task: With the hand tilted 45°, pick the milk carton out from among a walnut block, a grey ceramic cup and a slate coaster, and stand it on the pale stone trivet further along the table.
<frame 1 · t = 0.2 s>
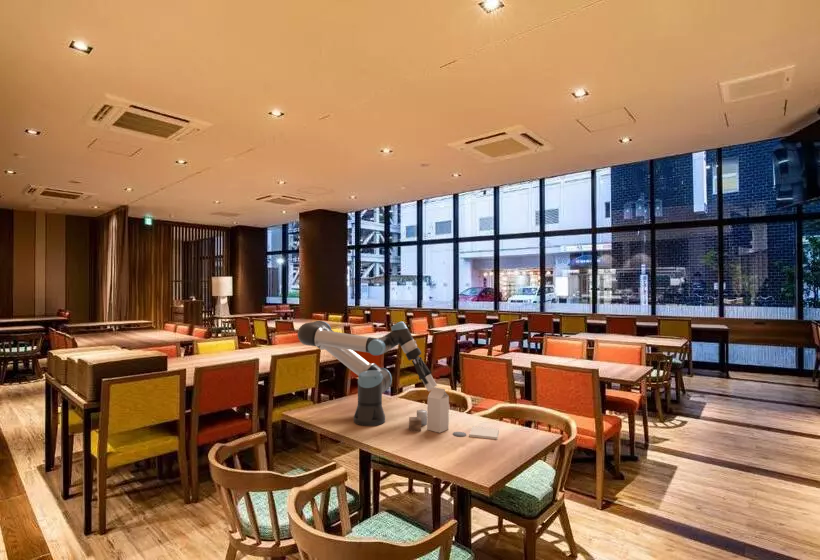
hand: (432, 388, 213), 15 cm above the table, tool tilted 30°, fingers open, 13 cm apart
milk carton: (437, 430, 197), on the table
walnut block: (415, 429, 197), on the table
trivet: (484, 433, 193), on the table
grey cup: (421, 423, 205), on the table
slate coaster: (459, 435, 191), on the table
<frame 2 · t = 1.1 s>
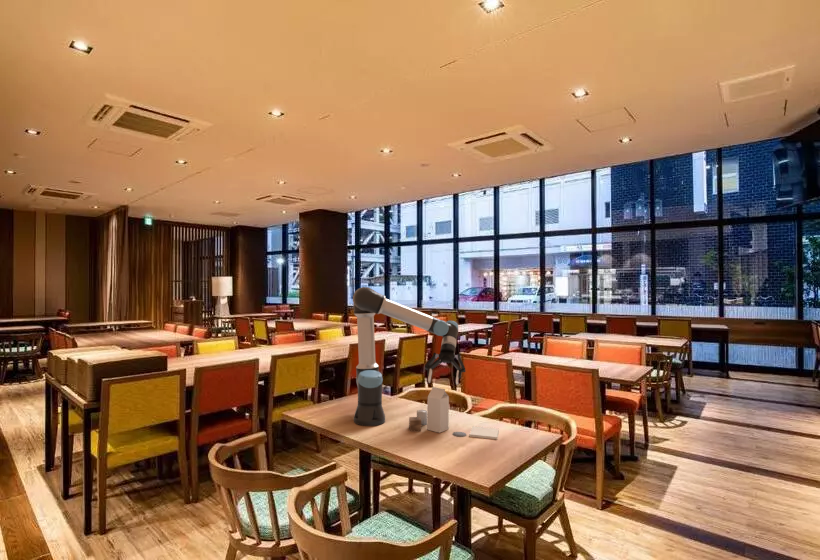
hand: (442, 382, 208), 19 cm above the table, tool tilted 45°, fingers open, 13 cm apart
nothing on the table moved.
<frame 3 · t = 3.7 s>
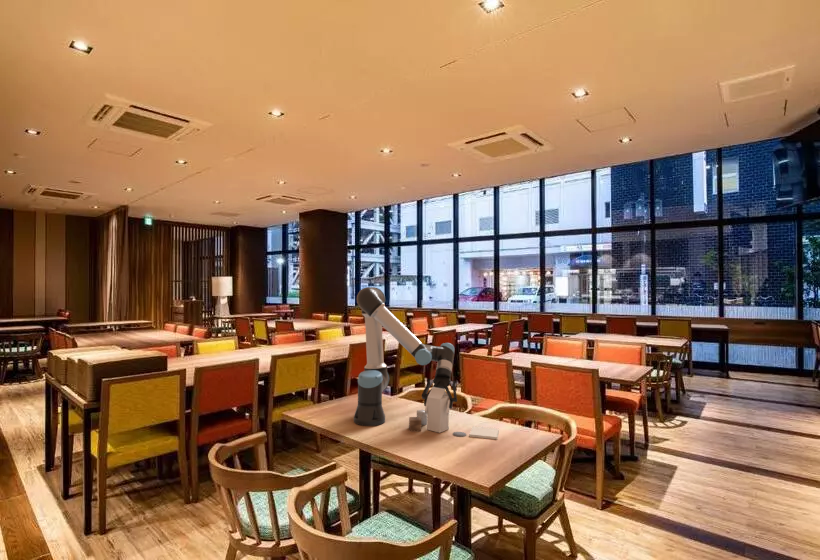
hand: (436, 413, 194), 8 cm above the table, tool tilted 45°, fingers closed on milk carton, 9 cm apart
milk carton: (437, 430, 197), on the table, touching gripper
everything else where it was.
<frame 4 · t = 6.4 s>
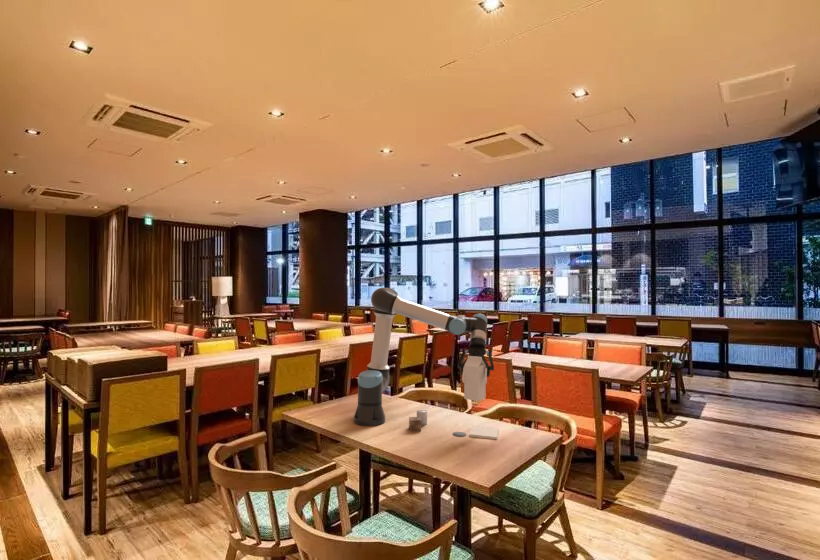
hand: (474, 381, 191), 23 cm above the table, tool tilted 45°, fingers closed on milk carton, 9 cm apart
milk carton: (475, 399, 194), point 15 cm above the table, touching gripper
everything else where it was.
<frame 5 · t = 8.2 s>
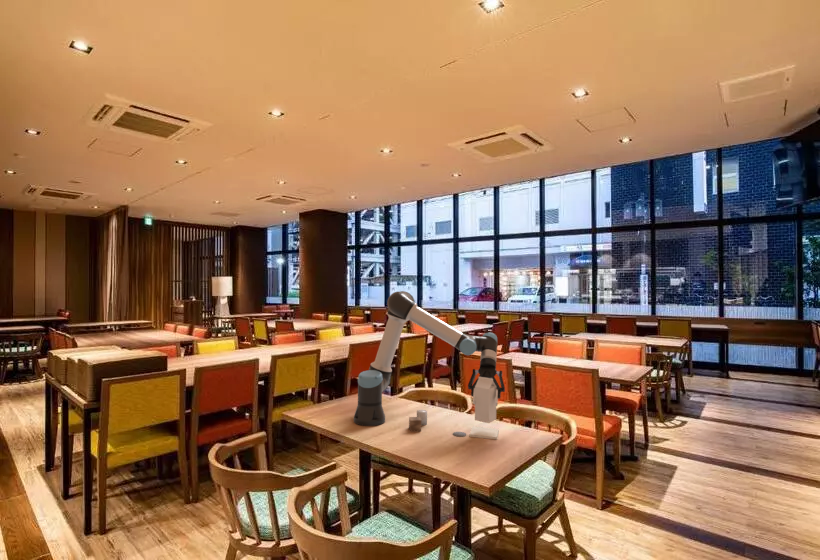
hand: (485, 403, 190), 14 cm above the table, tool tilted 45°, fingers closed on milk carton, 9 cm apart
milk carton: (485, 420, 193), point 6 cm above the table, touching gripper
everything else where it was.
when the fingers open (10 cm above the table, at t = 9.5 s): milk carton stays where it is, resting on trivet.
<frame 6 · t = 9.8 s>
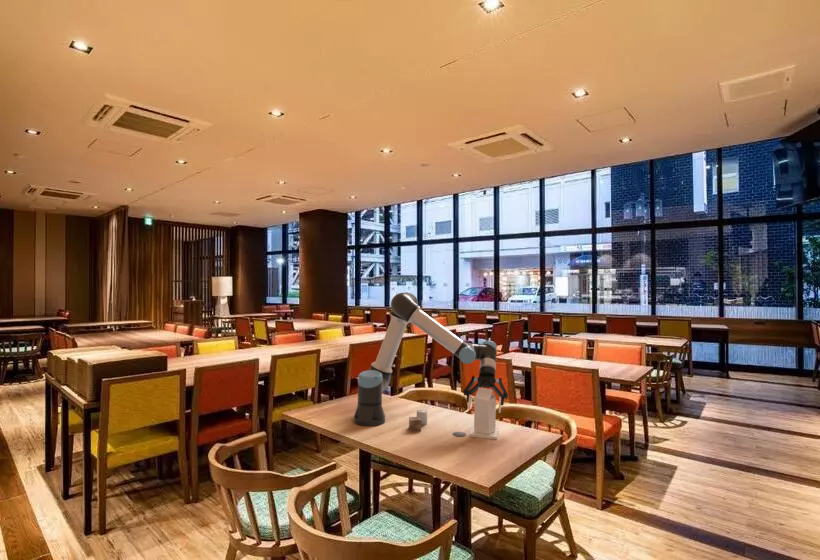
hand: (484, 410, 191), 11 cm above the table, tool tilted 45°, fingers open, 13 cm apart
milk carton: (484, 431, 193), point 1 cm above the table, touching trivet
everything else where it was.
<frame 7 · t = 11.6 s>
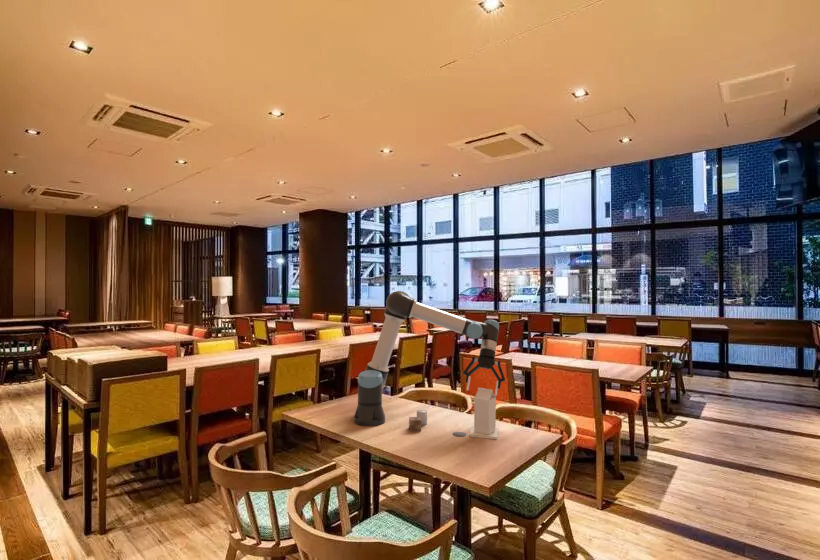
hand: (481, 392, 206), 15 cm above the table, tool tilted 25°, fingers open, 13 cm apart
nothing on the table moved.
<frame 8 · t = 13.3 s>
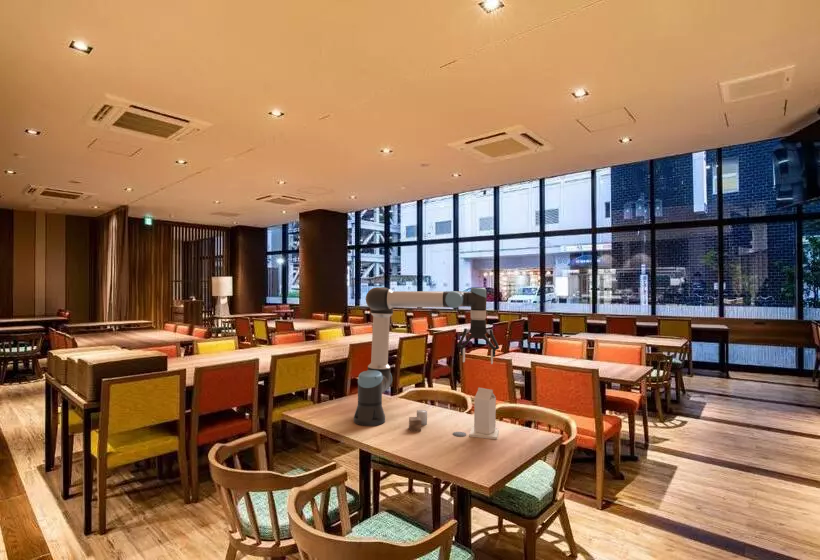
hand: (477, 362, 210), 29 cm above the table, tool pointing down, fingers open, 13 cm apart
nothing on the table moved.
at the end: milk carton inside the target area on the trivet (0.2 cm from its centre), point 0.8 cm above the trivet's base; milk carton tilted 0°; the gripper is holding nothing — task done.
